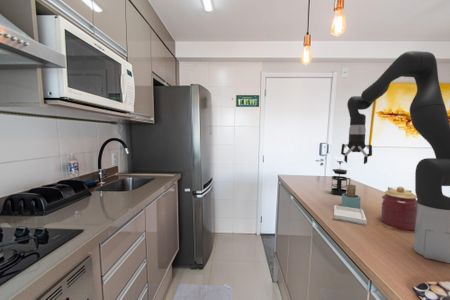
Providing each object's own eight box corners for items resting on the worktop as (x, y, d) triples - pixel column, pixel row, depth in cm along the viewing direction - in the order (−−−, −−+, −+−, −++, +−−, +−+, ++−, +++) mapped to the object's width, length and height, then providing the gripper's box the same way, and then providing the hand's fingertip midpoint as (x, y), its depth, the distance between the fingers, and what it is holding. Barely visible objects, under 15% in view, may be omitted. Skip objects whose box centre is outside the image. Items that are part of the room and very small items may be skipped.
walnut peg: (354, 208, 111) (356, 186, 110) (346, 206, 113) (347, 185, 112) (354, 205, 115) (355, 185, 114) (346, 204, 117) (347, 184, 116)
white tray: (366, 225, 92) (366, 220, 92) (333, 219, 98) (334, 214, 98) (362, 214, 105) (362, 209, 105) (334, 209, 111) (334, 205, 111)
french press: (330, 195, 137) (331, 161, 135) (329, 191, 146) (330, 160, 144) (350, 197, 132) (352, 162, 131) (348, 193, 141) (350, 161, 139)
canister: (421, 234, 84) (424, 192, 83) (382, 226, 91) (384, 188, 90) (413, 222, 95) (415, 185, 94) (378, 216, 102) (380, 182, 101)
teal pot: (360, 211, 108) (361, 199, 108) (341, 208, 112) (342, 196, 112) (358, 206, 116) (359, 194, 115) (341, 204, 120) (341, 192, 119)
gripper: (341, 133, 111) (340, 162, 112) (374, 133, 104) (372, 165, 105) (341, 133, 117) (340, 161, 119) (372, 133, 110) (370, 163, 112)
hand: (355, 163), depth 112 cm, fingers open, 8 cm apart
